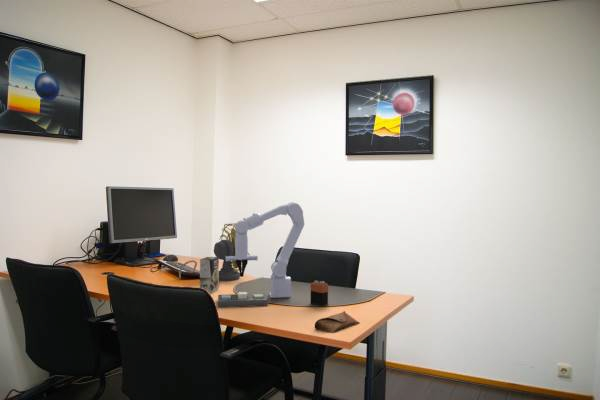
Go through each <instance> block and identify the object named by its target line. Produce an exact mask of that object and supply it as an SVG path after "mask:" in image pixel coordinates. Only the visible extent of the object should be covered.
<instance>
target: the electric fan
mask: <svg viewBox="0 0 600 400" xmlns="http://www.w3.org/2000/svg"><path fill="white" fill-rule="evenodd" d="M236 223H237V222H236ZM236 223H235V222H234V223H225V224H224V226H223V227H222V229H221V230H222V233H221V235H220V237H219V240H220V241H218V242H215V244H214V246H213V254H214V255H215V256H214V257H219V260H222V266H221V268H219V269H220V270H219V281H223V282H224V281H225V282H228V281H229V282H230V281H236V280H239V279H240V278H241V277H240V272H239V268H238V266H237V264H236V261H226V257H227V256H235V237H236V235H235V233H236V230H235V225H236ZM229 227H232V228H229ZM227 229H228V230H229V231H230V232H229V231H228V230H227ZM224 232H225V233H226V234H227V235H225V234H224ZM223 238H225V239H223ZM248 256H251V254H250V253H249V252H248ZM189 263H194V267H193V269H192V272H193V271H196V268H197V266H198V262H197V261H196V260H192V259H191V260H188V261H185V262H184V263H183V264H182V265H181V267H180V269H179V271H178V275H179V276H178V277H179V279H180V280H181V274H182V270H183V268H184V267H186V265H188V264H189ZM241 263H242V261H241ZM241 271H242V266H241Z"/></svg>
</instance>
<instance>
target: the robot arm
mask: <svg viewBox="0 0 600 400" xmlns="http://www.w3.org/2000/svg"><path fill="white" fill-rule="evenodd" d="M280 215H281V216H282V215H284V216H287V215H288V216H289V218H290V219H291V221H292V226H291V229H290V230H289V233H288V235H287V237H286V239H285V242H284V244H283V246H282V248H281V250H280V253H279V254H278V256H277V258H276V259H275V260H274V262H272V264H271V265H270V269H271V271H272V273H271V275H270V292H269V293H268V294H269V297H270V299H272V298H273V299H275V298H277V299H278V298H292V278H291V276H287V267H288V263H289V261H290V257H291V255H292V253H293V250H294V249H295V247H296V245H297V242H298V240H299V238H300V236H301V233H302V232H303V229H304V226H305V217H304V211H303V209H302V207H301V205H299V204H298V203H297V202H293V201H292V202H291V201H290V202H288V203H286V204H282V205H278V206H277V207H275V208H272V209H271V210H269V211H266V212H264V213H255V212H254V213H252V215H251V216H248V217H243V218H242V220H238V221H237V222H236V225H235V227H234V229H235V230H236V233H235V235H236V237H235V256H227V257H226V261H236V264H237V266H238V268H237V269H239V271H238V272H239V273H240V278H241V277H242V278H243V277H244V275H245V269H246V267H247V265H248V261H258V255H250V256H249V255H248V253H249V244H248V243H249V242H248V241H249V237H248V231H251V230H254V229H256V228H258V227H261V226H262V225H264V222H265V221H267V220H270V219H271V218H274V217H278V216H280ZM241 261H242V262H241ZM241 267H242V270H241Z"/></svg>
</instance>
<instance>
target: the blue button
mask: <svg viewBox="0 0 600 400" xmlns="http://www.w3.org/2000/svg"><path fill="white" fill-rule="evenodd" d="M221 295H222V299H231V295H229V294H221Z"/></svg>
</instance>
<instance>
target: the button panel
mask: <svg viewBox="0 0 600 400" xmlns="http://www.w3.org/2000/svg"><path fill="white" fill-rule="evenodd" d="M254 294H255V293H247V298H246V299H238V293H235V294H233V293H232V294H228V295H231V299H222V295H223V294H218V296H217V308H232V307H233V308H237V307H238V308H239V307H263V306H265V307H267V306H268V302H269V301H268V297H267V295H266V293H262V294H263V298H254Z"/></svg>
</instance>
